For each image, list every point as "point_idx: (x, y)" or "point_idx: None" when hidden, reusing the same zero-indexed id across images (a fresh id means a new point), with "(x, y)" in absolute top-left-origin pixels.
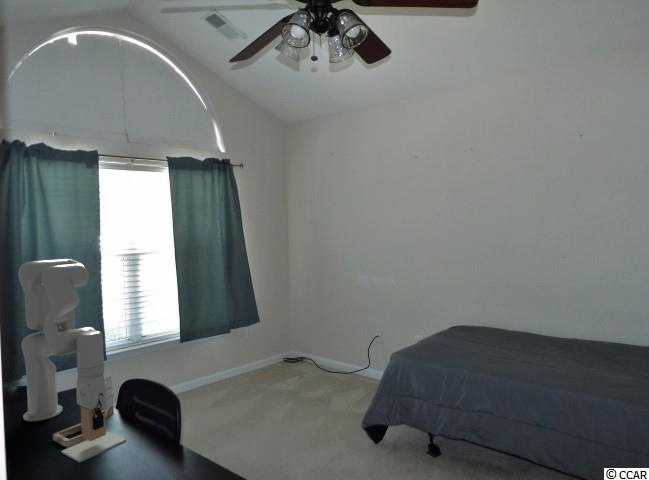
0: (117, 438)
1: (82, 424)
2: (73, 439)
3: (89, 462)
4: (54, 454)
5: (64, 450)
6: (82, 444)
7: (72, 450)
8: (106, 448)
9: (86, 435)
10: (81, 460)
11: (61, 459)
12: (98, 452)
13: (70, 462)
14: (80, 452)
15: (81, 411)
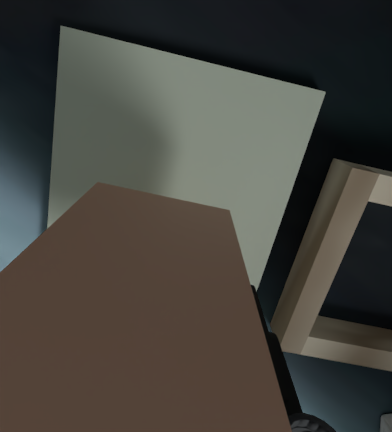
0: None
1: (224, 265)
2: (333, 209)
3: (5, 58)
4: (355, 57)
5: (306, 104)
6: (249, 208)
7: (247, 124)
8: (48, 218)
9: (154, 206)
10: (60, 42)
11: (240, 18)
12: (53, 167)
13: (135, 8)
14: (165, 123)
15: (267, 426)
